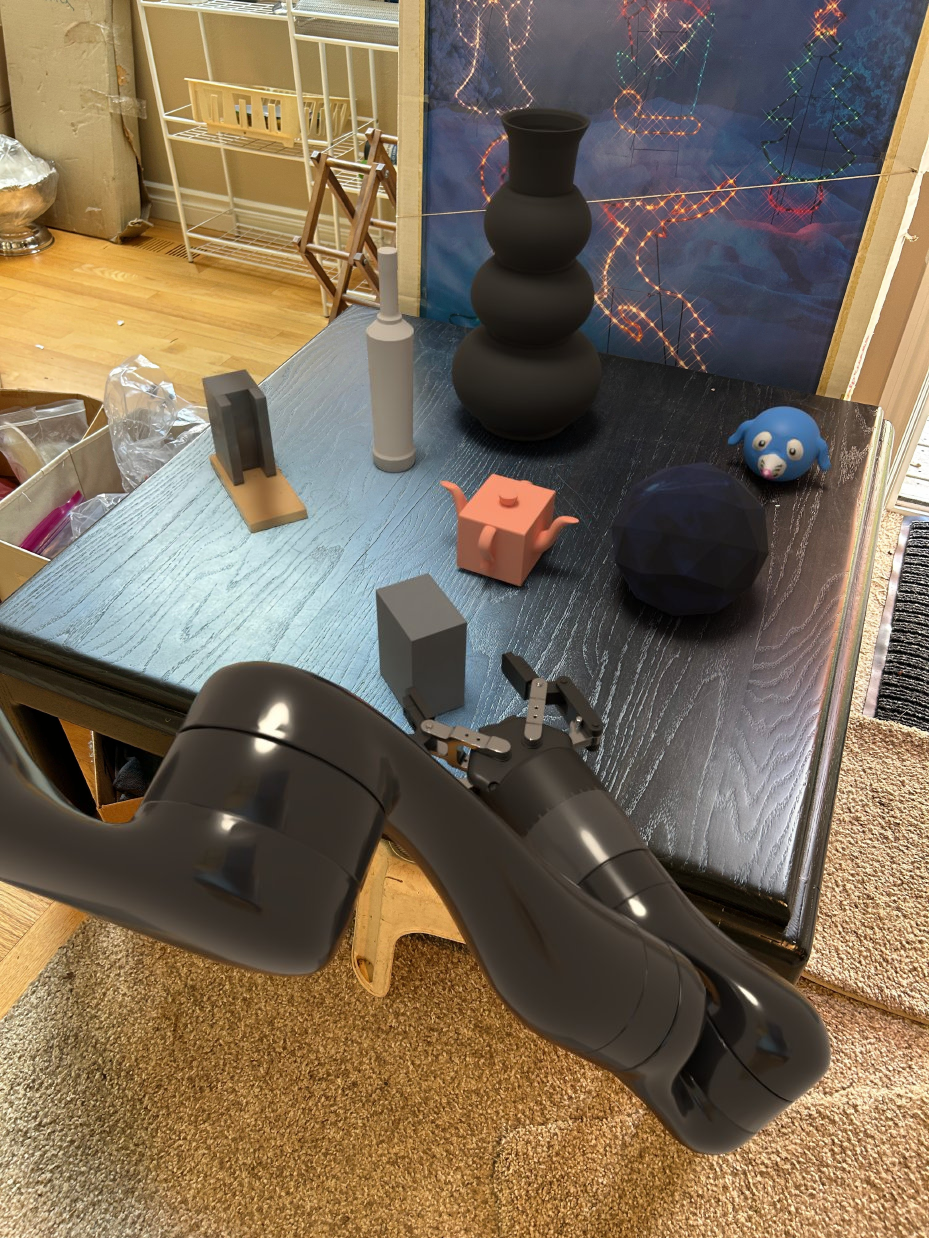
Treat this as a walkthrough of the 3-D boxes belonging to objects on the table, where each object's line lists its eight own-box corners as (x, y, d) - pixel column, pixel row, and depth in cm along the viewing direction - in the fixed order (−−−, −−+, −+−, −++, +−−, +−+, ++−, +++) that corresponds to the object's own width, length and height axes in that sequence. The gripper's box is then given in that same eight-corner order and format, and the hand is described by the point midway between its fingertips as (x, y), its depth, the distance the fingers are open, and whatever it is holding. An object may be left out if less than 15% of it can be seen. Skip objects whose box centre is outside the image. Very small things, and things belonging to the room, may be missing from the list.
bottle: (368, 471, 106) (356, 257, 90) (378, 448, 110) (368, 239, 93) (411, 475, 106) (407, 262, 89) (419, 452, 110) (417, 243, 93)
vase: (449, 387, 122) (452, 95, 98) (584, 388, 123) (619, 98, 99) (453, 461, 108) (458, 143, 85) (604, 461, 109) (651, 146, 86)
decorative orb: (555, 537, 89) (649, 473, 76) (647, 480, 97) (746, 413, 84) (634, 659, 89) (741, 614, 76) (719, 592, 97) (829, 541, 84)
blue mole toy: (704, 492, 105) (720, 428, 99) (732, 445, 113) (748, 383, 107) (809, 522, 101) (831, 458, 95) (829, 471, 109) (851, 409, 103)
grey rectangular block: (413, 724, 78) (411, 641, 71) (370, 658, 83) (365, 575, 77) (464, 705, 79) (467, 621, 73) (419, 642, 85) (418, 559, 78)
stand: (251, 533, 97) (236, 442, 89) (210, 463, 107) (193, 377, 99) (307, 517, 99) (297, 428, 92) (262, 451, 109) (249, 365, 102)
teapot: (550, 613, 89) (558, 546, 83) (414, 569, 93) (413, 503, 87) (590, 547, 97) (599, 481, 91) (463, 509, 101) (465, 445, 95)
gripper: (664, 759, 61) (538, 614, 71) (479, 842, 55) (372, 672, 66) (646, 824, 66) (531, 680, 76) (475, 905, 61) (376, 739, 71)
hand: (457, 676), depth 71 cm, fingers open, 8 cm apart
